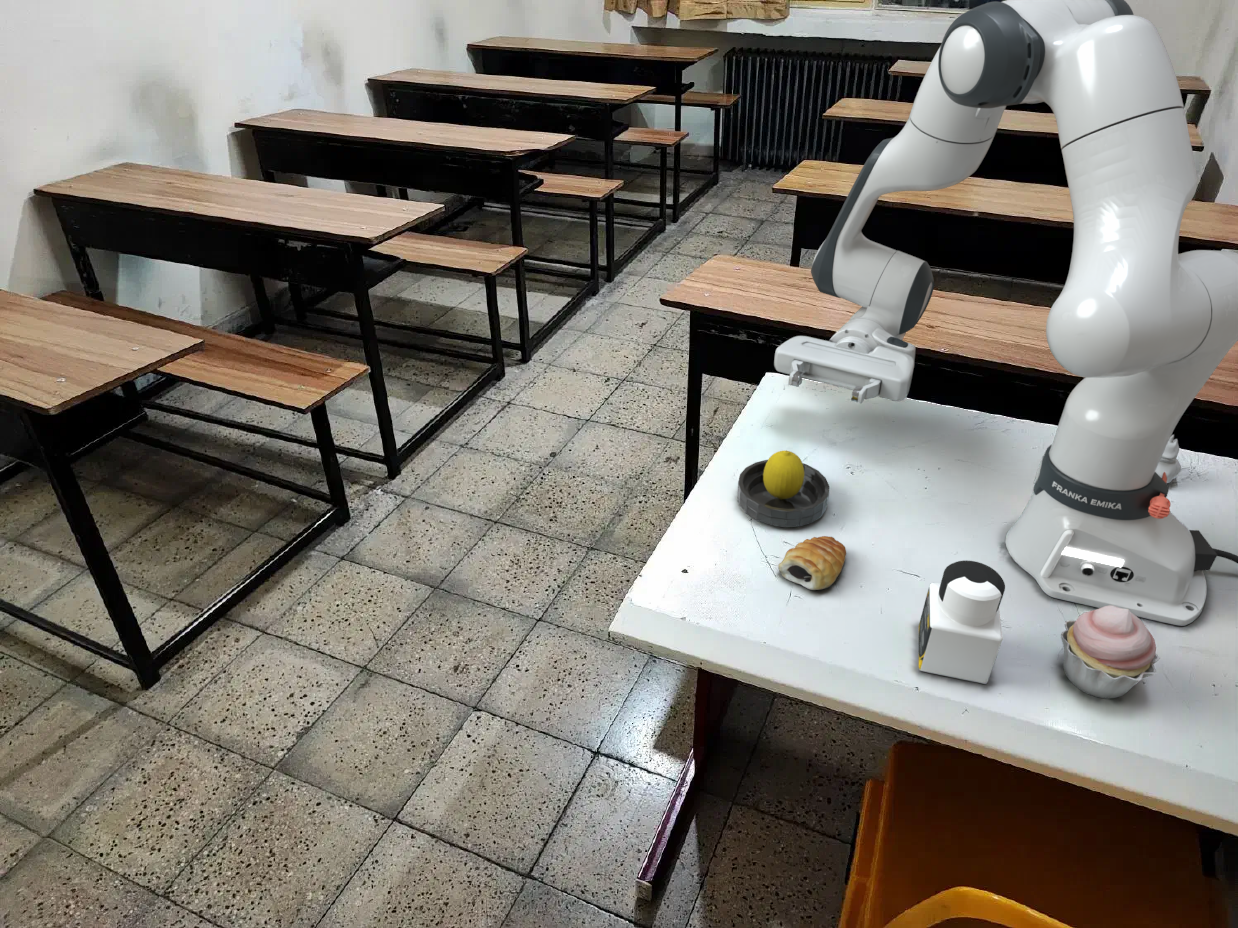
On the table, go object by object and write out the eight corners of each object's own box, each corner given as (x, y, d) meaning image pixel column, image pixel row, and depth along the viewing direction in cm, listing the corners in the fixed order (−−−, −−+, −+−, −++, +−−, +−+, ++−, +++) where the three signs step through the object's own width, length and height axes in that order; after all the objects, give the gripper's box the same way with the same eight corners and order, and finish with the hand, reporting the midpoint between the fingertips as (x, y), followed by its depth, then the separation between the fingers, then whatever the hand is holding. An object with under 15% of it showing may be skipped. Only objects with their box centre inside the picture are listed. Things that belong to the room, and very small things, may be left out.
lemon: (800, 512, 113) (807, 464, 108) (759, 508, 114) (764, 460, 109) (801, 489, 117) (807, 442, 113) (762, 485, 118) (767, 438, 114)
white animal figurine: (1135, 487, 117) (1155, 440, 112) (1127, 462, 122) (1145, 416, 118) (1178, 493, 116) (1200, 446, 111) (1167, 467, 121) (1188, 421, 116)
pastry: (812, 539, 109) (816, 516, 106) (858, 561, 105) (863, 538, 103) (773, 575, 103) (776, 552, 101) (821, 600, 99) (825, 576, 97)
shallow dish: (839, 493, 117) (842, 475, 115) (806, 540, 108) (809, 522, 107) (759, 467, 123) (761, 450, 121) (722, 511, 114) (723, 492, 112)
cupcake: (1164, 704, 85) (1201, 637, 80) (1082, 717, 84) (1113, 649, 79) (1107, 639, 93) (1137, 574, 87) (1031, 649, 92) (1056, 584, 86)
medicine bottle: (917, 626, 95) (938, 547, 89) (983, 638, 94) (1009, 559, 87) (917, 671, 90) (940, 591, 83) (987, 685, 88) (1016, 604, 81)
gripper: (795, 319, 129) (758, 353, 120) (926, 348, 120) (898, 387, 110) (791, 355, 133) (755, 390, 123) (918, 386, 123) (890, 427, 114)
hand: (824, 389), depth 117 cm, fingers open, 8 cm apart
